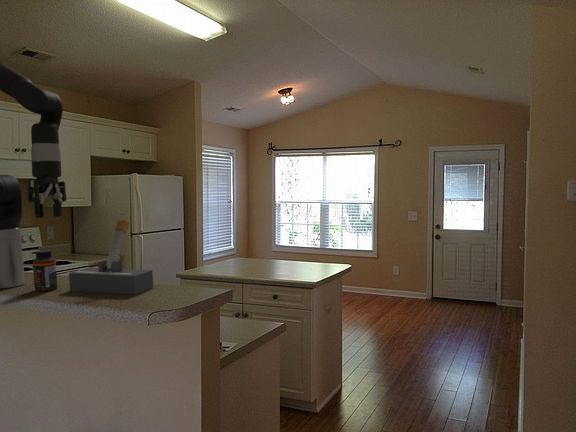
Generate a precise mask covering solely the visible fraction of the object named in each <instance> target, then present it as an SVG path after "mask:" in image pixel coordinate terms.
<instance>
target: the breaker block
mask: <svg viewBox="0 0 576 432" xmlns="http://www.w3.org/2000/svg"><path fill="white" fill-rule="evenodd" d="M122 262H123V261H122V260H121V259H120V260H119V259H118V260H117V261H114V262H111V269H112V271H107V270H106V269H105V266H106V263H107V259H103V260H100V261H97V263H98V264H97V265H98V267H87V268H83V269H79V270H76V271H72V272H68V279H69V291H71V292H72V291H74V292H87V293H90V292H91V293H103V294H104V293H106V294H107V293H108V294H118V295H119V294H121V295H123V294H124V295H138V294H140V293H143V292H146V291H148V290H151V289H153V288H154V279H153V278H154V276H153V275H154V274H153V269H134V268H133V269H131V268H130V269H129V268H123V263H122Z"/></svg>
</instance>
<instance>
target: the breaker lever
mask: <svg viewBox="0 0 576 432" xmlns="http://www.w3.org/2000/svg"><path fill="white" fill-rule="evenodd" d="M129 227H130V222H129V221H127V220H117V222H116V225H115V229H114V231H115V233H114V236H113V240H112V242H111V246H110V250H109V253H108V256H107V259H106V260H107V263H106V266H105V269H106V270H107V271H112V269H111V262H114V261H117V260H119V256H120V253H121V250H122V246H123V242H124V239H125V235H126V234H127V233H128V230H129Z"/></svg>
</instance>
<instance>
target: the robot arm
mask: <svg viewBox="0 0 576 432" xmlns="http://www.w3.org/2000/svg"><path fill="white" fill-rule="evenodd" d="M0 92H3V93H4V94H6V95H8V96H9V97H11V98H13V99H14V100H15V101H16V102H17V103H18V104H19V105H21V106H22V107H23V108H24V109H26V110H27V111H29V112H31V113H32V114H37V115H40V119H39V122H37V123H33V124H32V125H31V127H30V128H31V129H30V130H31V131H30V134H31V136H30V138H31V149H30V155H31V156H30V157H31V159H30V160H31V176H32V177H33V178H36V179H32V180H31V179H29V180H27V201H28V202H29V203H32V204H33V206H34V207H33V208H34V217H35V218H36V219H43V218H44V217H45V211H44V209H45V208H44V202H45V199H47V198H49V199H50V200H51V202H52V203H53V204H52V208H53V209H52V211H53V213H52V215H53V217H57V218H58V217H59V218H61V217H62V215H63V213H62V212H63V210H62V209H63V208H62V205H63V203H64V202H67V194H66V193H67V192H66V182H65V181H64V180H63V181H59V180H58V178H60V177H62V159H61V158H62V157H61V156H62V155H61V148H60V137H59V131H60V130H59V129H60V126H61V121H62V117H63V111H64V105H63V101H62V99H61V97H60V96H59V95H58V93H55V92H53V91H50V90H46V89H43V88H40V87H38V86H36V85H34V82H33V81H32V80H30V79H29V78H28V77H26V76H24V75H23V74H22V73H19V72H18V71H16V70H15V69H13V68H12V67H9V66H8V65H6V64H5V63H3V62H2V61H0ZM22 193H23V192H22V188H21V184H20V181H19V180H18V179H17V178H16V177H15V176H13V175H11V174H0V289H9V288H14V287H19V286H23V285H24V284H25V283H26V282H25V281H26V280H25V271H24V269H25V268H24V267H25V266H24V258H23V257H24V256H23V247H22V246H23V245H22V244H23V243H22V234H21V231H22V230H21V220H22V218H23V195H22Z"/></svg>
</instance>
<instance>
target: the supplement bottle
mask: <svg viewBox="0 0 576 432" xmlns="http://www.w3.org/2000/svg"><path fill="white" fill-rule="evenodd" d="M32 272H33V285H34V291H36V292H41V293H44V292H52V291H54V290H56V289H57V288H58V273H57V260H56V258H55V257H54V256H52V250H51V249H41V250H36V251H35V258H33V260H32ZM51 290H52V291H51Z"/></svg>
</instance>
